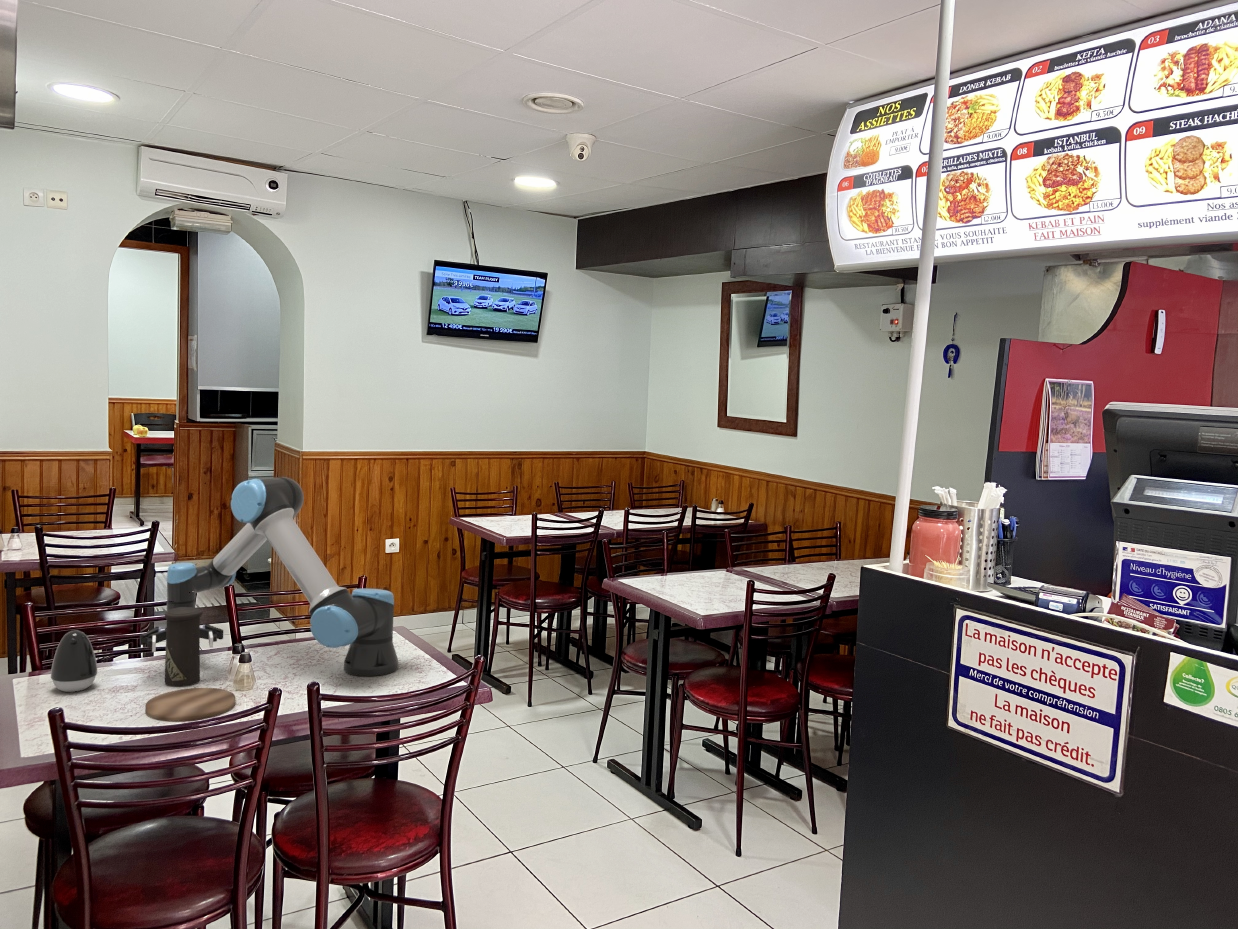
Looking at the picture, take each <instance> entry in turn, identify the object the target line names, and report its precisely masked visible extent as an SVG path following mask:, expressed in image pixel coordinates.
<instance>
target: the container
mask: <svg viewBox="0 0 1238 929" xmlns="http://www.w3.org/2000/svg"><path fill="white" fill-rule="evenodd" d="M202 615H203V610H201V609H200V608H198V607H196V606H195V607H179V608H173V609H170V610H168V611H167V610H166V612H165V613H164V617H165V619H167V620H166V627H167V629H166V640H165V658H164V659H165V660H164V661H165V663H164V684H165V685H166V686H169V687H174V688H175V687H176V688H177V687H179V688H180V687H188V686H192V685H193V686H194V685H195V684H198V683H199V682H200V680H201V659H200V658H201V654H200V648H201V647H200V645H201V644H200V639H201V638H200V627H201V626H200V625H201V623H200V622H201V617H202Z"/></svg>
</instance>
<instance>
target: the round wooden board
mask: <svg viewBox="0 0 1238 929" xmlns="http://www.w3.org/2000/svg"><path fill="white" fill-rule="evenodd" d="M235 706H236V694H234V693H233V692H232V691H230V690H227V689H223V688H215V687H192V688H183V689H182V688H181V689H176V690H172V691H171V690H170V691H167V692H163V693H161V694H158V695H156V696H154V697H152V698H150V699H148V700H147V701H146V703H145V709H144V710H145V712H144V713H145V715H146V716H147V717H149V718H150V719H151V718H152V719H153V720H157V721H164V722H191V721H192V722H193V721H199V720H205V719H210V718H213V717H217V716H221V715H223V714H224V713H227V712H229V711H231V710H232V709H233V708H234V707H235Z"/></svg>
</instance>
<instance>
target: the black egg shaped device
mask: <svg viewBox="0 0 1238 929" xmlns="http://www.w3.org/2000/svg"><path fill="white" fill-rule="evenodd" d="M97 674H98V664H97V658H96V655H95V651H94V648H93V645H92V643H91V641H90V638H89V637H88V636H87V634H85V632H83V631H81V630H77V629H76V630H70V631H68V632H66V633H65V634H64V635H63V637H62V638H61V640H60V642H59V643H58V646H57V647H56V650H55V654H54V656H53V661H52V665H51V670H50V679H51V680H52V682H53V685H54V686H55V687H56V689H57V690H59V691H61V692H63V693H64V692H65V693H76V692H75V691H77V692H80V690H81V691H84V690H86V689H87V688H89V687H90V686H92V684H93V683H94V681H95V679H96V677H97Z"/></svg>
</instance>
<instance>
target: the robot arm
mask: <svg viewBox="0 0 1238 929" xmlns="http://www.w3.org/2000/svg"><path fill="white" fill-rule="evenodd" d="M304 500H305V497H304V491H303V488H302V487H301V485H300V484H299V483H298V482H297V481H295V480H294V479H292V478H290V477H286V476H277V477H269V478H252V479H250V480H249V479H248V480H243V481H242V482H240V483H239V484H237V486H236V487H235V488H234V490H233V492H232V494H231V500H230V508H231V512H232V514H233V516H234V517H235V519H236V520H237V521H239V522H240V523H243V524H244V523H245V526H243V527H242V528H241V529H240V530H239V531H238V532H237V534H236V535H235V536H234V537H233V538H232V539H231V540H230V541H229V542H228V543H227V544H226V545H225V546H224V547H223V548H222V549H221V550H220V551H219V553H217V554H216V556H214V558H213V559H212V560H211V561H210V562H209V563H207V564H206V565H201V566H198V567H197V566H196V565H195V563H192V562H176V563H173V564H172V563H171V564H170V565H169V566H168V567H167V574H166V588H167V589H166V593H167V594H166V612H167V611H168V610H170V609H173V608H179V607H195V608H196V595H197V594H199V593H202V592H203V593H204V592H205V591H210V590H215V589H221V588H224V587H226V586H229V585H231V584H232V583H233V582H234V581H235V579H236V576H237V571H238V570H239V569H240V568H241V567H242V566H243V565H244V564H245V563H246V562H247V561H248V560H249V559H250V558H251V557H252V556H253V555H254V553H255V552H257V551H258V550H259V549H260V548H261V547H262V545H264V543H266V541H268V542H269V544H270V545H271V547H272V548H273V550H274V551H275V553H276V555H277V556H278V558H279V559H280V561H281V562H282V563H283V565H284V567H285V568H286V569H287V571H288V573H289V574H290V575H291V577H292V578H293V580H294V581H295V583H296V584H297V586H298V588H299V589H300V590H301V592H302V594H303V595H304V597H305V598H306V599H307V601H308V603H309V609H308V613H309V615H310V621H309V622H310V623H309V624H310V625H311V626H310V632H311V635H312V636H313V638H314V639H315V640H316V641H317V643H319V644H320V645H322V646H324V647H326V648H331V649H337V648H341V647H346V646H348V650H347V652H346V655H345V658H344V660H343V671H344V672H345V673H347V674H350V675H352V676H358V677H359V676H360V677H377V676H385V675H389V674H392V673H394V672H396V671H397V670H398V669H399V658H398V656H397V652H396V649H395V645H394V642H393V641H394V640H393V637H394V636H393V634H394V611H395V609H394V608H395V603H394V602H395V599H394V593H393V592H391V591H389V590H386V589H380V588H356V589H353V590H352V593H350V591H349V590H348V588H347V587H343V586H339V585H338V584H337V582H336V581H335V579H334V578H333V576H332V575H331V573H330V572H329V570H328V569H327V567H326V566H325V565H324V562H323V561H322V560H321V559H320V557H319V556H318V554H317V553H316V551H315V549H314V548H313V547H312V545H311V543H310V542H309V540H308V539H307V538H306V536H305V535H304V533H303V531H302V530H301V529H300V527H299V526H298V524H297V523H296V521H295V519H294V518H296V516H297V515H298V514H299V512H300V511H301V509H302V507H303V505H304ZM192 591H195V592H192ZM189 592H190V593H189ZM169 601H174V602H169ZM165 619H166V618H165ZM166 621H167V619H166ZM166 629H167V626H166V627H165V628H161V627H160V626H158V625H157V626H154V627H153V628H152V629H151V630H147V632H144V633H143V634H141V635H139V645H140V646H144V645H146V646H147V648H148V649H151V652H152V653H156V650H157V649H156V644H159V643H161V642H164V641H166ZM200 639H204V640H208V645H209V648H211V649H212V648H214V643H216V642H218V640H220V641H222V640H224V629H221V628H218V627H216V626H213V625H210V623H208V622H206V623H204V624H203V625H202V626H200Z"/></svg>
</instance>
